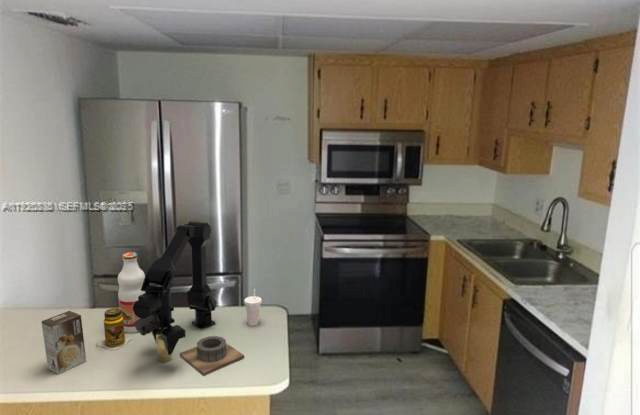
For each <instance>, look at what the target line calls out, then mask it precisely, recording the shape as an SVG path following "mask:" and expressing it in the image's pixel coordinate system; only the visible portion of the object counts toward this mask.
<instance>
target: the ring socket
mask: <svg viewBox="0 0 640 415" xmlns="http://www.w3.org/2000/svg"><path fill="white" fill-rule="evenodd" d="M179 357H180V358H182V359H183V360H184V361H185V362H186V363H188V364H189V365H190V366H191V367H192V368H194V369H195V370H196V371H197V372H199V373H200V374H201V375H203V376H206V375H209V374H211V373H213V372H215V371H218V370H220V369H223V368H225V367H228V366H229V365H232V364H234V363H237V362H239V361H240V360H244V359H245V354H243V353H241V352H240V351H239V350H237V349H236V348H235V347H233V346H232V345H230V344H229V343H227V341H226V339H225V338H224V337H223V336H217V335H211V336H210V335H209V336H205V337H202V338H201V339H199V340H198V341H197V342H196V346H194V347H191V348H189V349H186V350H185V351H181V352H179Z"/></svg>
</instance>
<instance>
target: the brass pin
mask: <svg viewBox="0 0 640 415" xmlns="http://www.w3.org/2000/svg"><path fill="white" fill-rule="evenodd" d="M162 332H163V331H159V332H157V333H156V342H155V344H156V359H157V360H156V361H157V362H158V363H160V364H165V363H168V362H171V361H172V357H173V356H172V354H171V355H168V352H167V347H166V342H164V341H163V340H162V339H161V338H162Z"/></svg>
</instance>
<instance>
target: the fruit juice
mask: <svg viewBox="0 0 640 415" xmlns="http://www.w3.org/2000/svg"><path fill="white" fill-rule="evenodd" d="M121 256H122V261H123V266H122V269H121V271H120V272H119V273H118V275H117V282H118V283H117V284H118V285H119V289H118V291H117V292H118V294H117V295H118V309H120V310H121V314H122V317H123V321H124V333H127V334H128V333H131V334H133V333H139V332H138V331H137V330H136V328H135V326H134V322H135V321H137V320H138V319H140V318H139V317H137V316H136V315H135V314H134V312H133V305H134V303H135V302H136V301H138V296H140V295H143V294H144V293H145V291H141V288H142V285H143V282H144V279H145V275H146V273H144V270H143V269H141V268H140V266H139V264H138V260H137V259H138V253H137V252H131V251H130V252H129V251H128V252H125V253H123V254H122V255H121Z"/></svg>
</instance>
